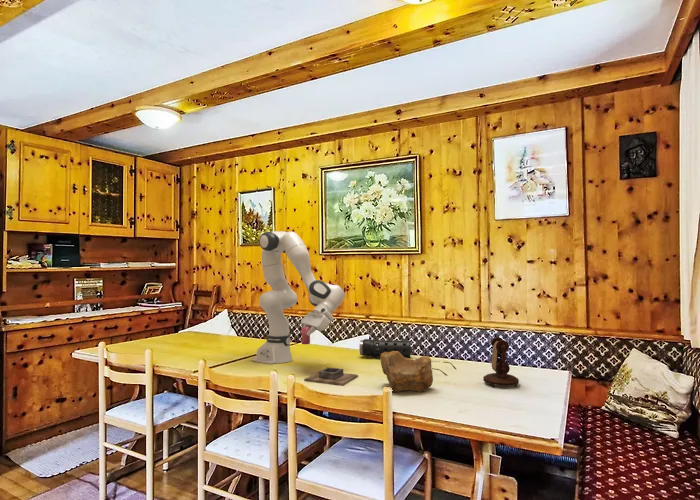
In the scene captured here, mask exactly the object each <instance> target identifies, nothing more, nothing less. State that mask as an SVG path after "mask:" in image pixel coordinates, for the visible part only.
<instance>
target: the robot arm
mask: <svg viewBox="0 0 700 500" xmlns="http://www.w3.org/2000/svg"><path fill="white" fill-rule="evenodd" d="M258 243H259V247H260V248H261V250H262V251H261V254H260V255H261V265H262V266H261V267H262V272H263V278H264V281H265V283H267V284H268V285H269V287H270V288H271V289H272V290H269V291H266V292H264V293H262V294H260V297H259V301H258V302H259V306H260V308H261V309H263V311H264V312H265V314H266V317H267V320H268V331H269V333H268V335H266V336H265V338H264V340H266V341H265V342H264V343H263V344H262V345H260V346H259V347H258V348H257V349H256V355H255V356H254V357H253V358H252V359H251V361H252V362H257V363H263V364H268V365H274V364H283V363H289V362H291V361H293V357H292V352H291V351H292V350H291V334H290V320H289V319H288V318H287V317H286V316H285V313H284V310H287V309H291V308H292V307H294V306H295V305H296V304H297V303H298V295H297V293H296V292H295V291H294V290H293V289H292V288H291V287H290V285H289V282H288V281H287V278H286V277H285V272H284V267H283V261H282V254H283V253H284V254H286V256H287V258H288V259H289V261H290V262H291V264H292V265H293V267H294V268H295V270H296V271H297V272H298V274H299V276H300V278H301V279H302V282H303V283H304V285H305V288H306V289H307V292H308V301H309V303H310V305H312V306H314V308H313V310H312V311H309V312H308V313H307V314H306V315H305V316H304V317H303V318H302V319H301V321H300V324H301V325H302V327H305V326H306V327H310V330H309V331H307V332H306V335H307V336H310V337H311V335H312V334H313V333H315V332H316V331H319V332H323V331H325V330H326V328H328V327H329V325H330V324H331V322H334V320H335V317H334V316H333V314H334V313H335V312H334V311H335V310H336V309H338V307H339V306H340V305H341V304H342V302H343V300H344V299H345V296H346V295H345V294H346V293H345V291H344V289H343V288H342V287H341V286H340V285H338V284H330V283H327V282H325V281H322V280H321V279H317V280H316V278H315V276H314V274H313V271H312V266H311V257H310V253H309V250H308V248H307V246H306V244H305V242H304V240H303V239H302V238H301V237H300V235H299V234H298V233H296V231H283V230H282V231H281V230H277V231H275V230H274V231H266V232H263V233H261V235H260V237H259V239H258ZM300 333H301V334H302V330H301V331H300Z"/></svg>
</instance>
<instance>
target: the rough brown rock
mask: <svg viewBox="0 0 700 500" xmlns="http://www.w3.org/2000/svg"><path fill="white" fill-rule="evenodd" d="M379 358H380V365H381V370H382V373H383V374H384V375H385V376H386V379H387V381H388V383H389V384H388V385H389V388H390V387H391V388H392V390H393V392H392V393H398V392H403V391H414V392H417V393H422V392H423V393H424V391H427V390H428V389H430V388H431V387H432V385H433V382H434V377H433V369H431V368H432V362H431V361H432V359H431V357H430V356H427V355H422V356H420V357H418V358H416V359H413V358H405V357H403V356H402V354H401V353H400V352H398V351H391V352H384V353H382V354H381V356H380V357H379Z"/></svg>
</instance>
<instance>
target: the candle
mask: <svg viewBox="0 0 700 500" xmlns="http://www.w3.org/2000/svg"><path fill="white" fill-rule="evenodd" d="M310 329H311V328H310V327H306V326H305V327H304V326H302V327H301V331H302V333H301V345H310V344H311V335H310V336H307V335H306V332H307V331H309V330H310Z"/></svg>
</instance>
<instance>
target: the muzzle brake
mask: <svg viewBox="0 0 700 500" xmlns="http://www.w3.org/2000/svg"><path fill="white" fill-rule="evenodd" d="M411 345H412V344H411V340H398V339H397V340H395V339H393V340H389V339H387V340H386V339H385V340H384V339H374V340H373V339H371V338H364V339H362V340H360V341H359V348H358V349H359V355H361V356H363V357H371V358H372V359H378V358H380V356H381V354H382V353H384V352H391V351H398V352H400V353H401V354H402V356H403V357H405V358H409V359H411V356H412V354H411V353H412V348H411V347H412V346H411Z"/></svg>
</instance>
